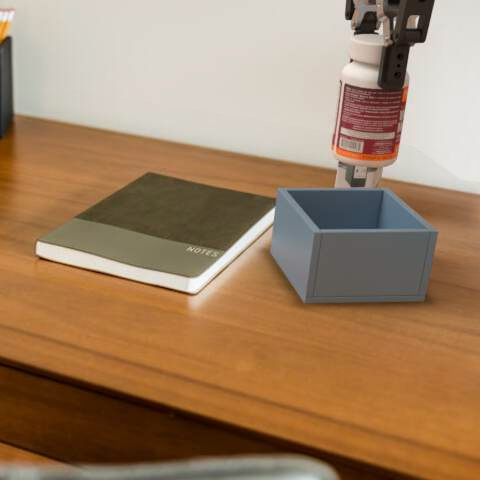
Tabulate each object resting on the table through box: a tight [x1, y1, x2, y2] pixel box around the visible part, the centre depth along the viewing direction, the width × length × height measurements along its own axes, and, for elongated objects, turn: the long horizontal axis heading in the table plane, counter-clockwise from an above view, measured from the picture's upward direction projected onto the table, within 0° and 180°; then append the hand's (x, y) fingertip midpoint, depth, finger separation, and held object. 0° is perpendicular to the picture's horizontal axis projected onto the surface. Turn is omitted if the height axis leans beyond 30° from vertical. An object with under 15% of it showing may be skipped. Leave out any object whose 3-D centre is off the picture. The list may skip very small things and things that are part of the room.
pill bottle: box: [330, 33, 410, 168], centre depth 83 cm, size 6×6×11 cm
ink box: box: [334, 161, 384, 188], centre depth 113 cm, size 9×5×12 cm, turn 157°
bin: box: [269, 187, 439, 304], centre depth 94 cm, size 13×13×8 cm
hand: (374, 79), depth 82 cm, fingers closed on pill bottle, 6 cm apart
